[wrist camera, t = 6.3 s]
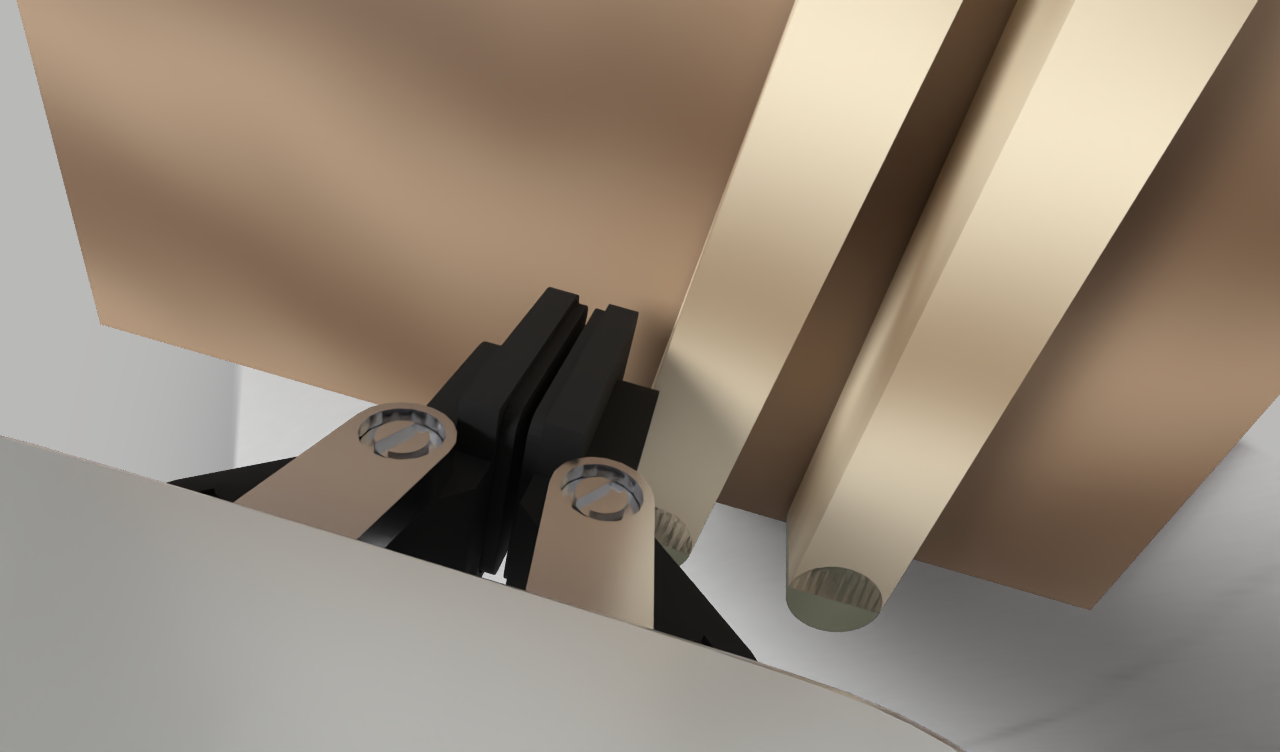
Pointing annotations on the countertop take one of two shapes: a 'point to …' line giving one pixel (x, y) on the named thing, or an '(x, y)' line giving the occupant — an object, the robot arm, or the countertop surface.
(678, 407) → the tong arm
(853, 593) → the tongs fixed
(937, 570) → the countertop surface
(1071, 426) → the board
